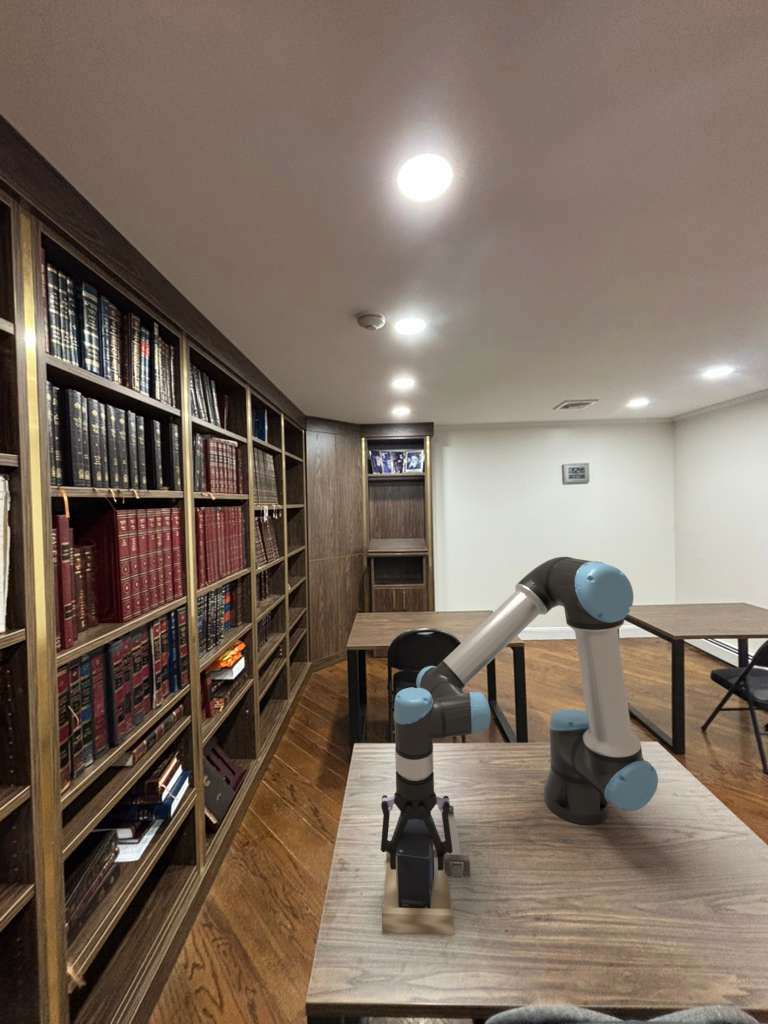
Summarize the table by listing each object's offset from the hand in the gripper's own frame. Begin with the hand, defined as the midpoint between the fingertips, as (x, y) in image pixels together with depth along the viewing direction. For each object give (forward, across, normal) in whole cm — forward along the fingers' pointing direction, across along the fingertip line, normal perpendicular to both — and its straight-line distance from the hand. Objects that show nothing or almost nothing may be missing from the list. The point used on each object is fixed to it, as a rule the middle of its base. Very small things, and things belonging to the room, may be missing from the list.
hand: (417, 883), depth 88 cm
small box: (+1, 0, 0) cm, 1 cm away
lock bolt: (+2, -8, -13) cm, 16 cm away
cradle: (+2, -2, 0) cm, 3 cm away
